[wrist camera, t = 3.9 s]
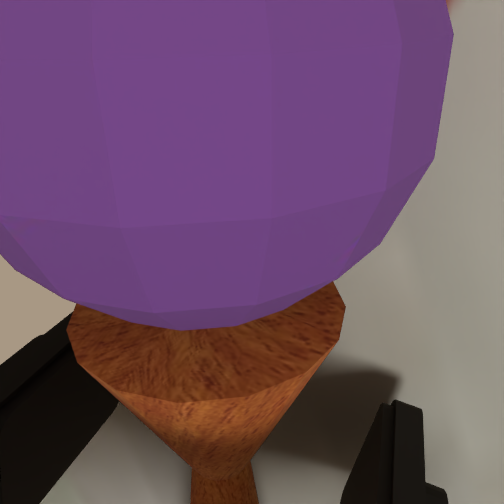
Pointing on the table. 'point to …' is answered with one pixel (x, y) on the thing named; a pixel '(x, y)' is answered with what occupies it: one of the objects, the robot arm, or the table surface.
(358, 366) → the table surface
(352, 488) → the robot arm
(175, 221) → the kendama
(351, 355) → the table surface
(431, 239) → the table surface
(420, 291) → the table surface
